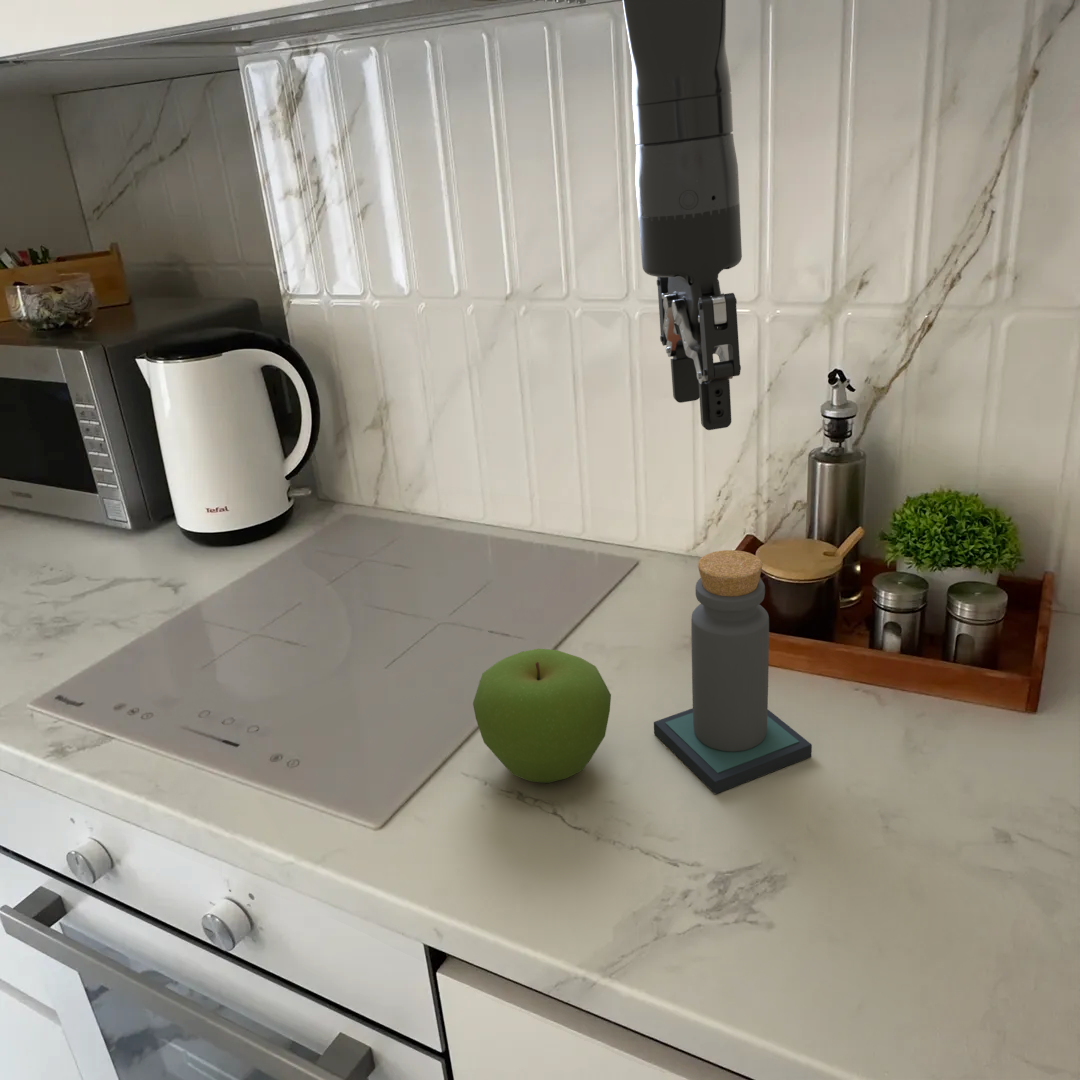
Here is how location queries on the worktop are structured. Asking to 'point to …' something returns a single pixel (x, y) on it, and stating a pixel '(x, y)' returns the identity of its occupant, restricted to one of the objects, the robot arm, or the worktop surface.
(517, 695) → the apple
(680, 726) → the teal square coaster
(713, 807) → the worktop surface
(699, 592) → the bottle
